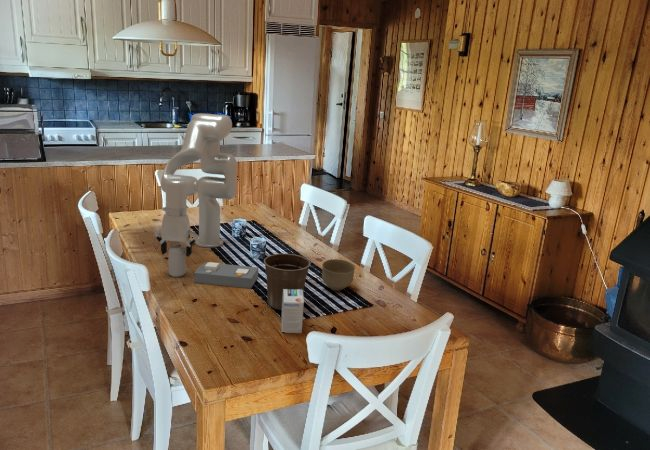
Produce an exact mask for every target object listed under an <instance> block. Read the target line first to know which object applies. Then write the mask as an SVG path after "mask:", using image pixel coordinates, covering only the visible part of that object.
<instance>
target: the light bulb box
mask: <svg viewBox="0 0 650 450" xmlns="http://www.w3.org/2000/svg"><path fill="white" fill-rule="evenodd" d="M304 299H305V298H304V292H303V290H301V289H283V298H282V310H281V317H280V318H281V320H280V321H281V328H280V329H281V331H280V332H281V333H282V332H285V333H284V334H286V333H287V334H302V332H303V331H302V330H303V321H304V320H303V316H304V304H305V300H304Z"/></svg>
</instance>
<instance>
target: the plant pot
mask: <svg viewBox="0 0 650 450" xmlns="http://www.w3.org/2000/svg"><path fill="white" fill-rule="evenodd" d="M263 263H264V266H265V267H264V268H265V274H266V291H267V294H266V295H267V297H266V298H267V304H268V305H269V307H271V308H272V309H274V310H279V311H282V298H283V289H301V290H303V293H304V291H305V286H306V285H305V284H306V280H307V277H308V272H309V267H311V261H310V259H308V258H307V257H304V256H302V255H298V254H294V253H293V254H292V253H275V254H271V255H268V256H266V257H265V258H264V259H263Z"/></svg>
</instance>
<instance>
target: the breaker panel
mask: <svg viewBox="0 0 650 450" xmlns="http://www.w3.org/2000/svg"><path fill="white" fill-rule="evenodd" d="M207 263H208V262H205V261H204V262H203V263H202V264H201V265H200V266H199V267H198V268H196V270H195V272H193V275H194V278H193V283H195V284H205V285H214V286H224V287H231V288H232V287H233V288H241V289H252V288H253V286H254V284H255V283H256V282H257V279H258V278H259V267H258V266H257V267H256V266H247V265H245V266H244V265H237V264H228V263H227V264H226V263H219V269H218V270H217V271H211V270H205V265H206V264H207ZM238 268H239V269H249V272H248V274H247V275H245V274H242V273H237V274H236V273H235V272H236V271H237V269H238Z"/></svg>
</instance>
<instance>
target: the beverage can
mask: <svg viewBox="0 0 650 450" xmlns="http://www.w3.org/2000/svg"><path fill="white" fill-rule="evenodd" d="M168 247H169V248H168V249H167V251H168V253H167V254H168V256H167V257H168V275H169V276H171V277H173V278H180V277H183V276H184V275H186V270H187V269H186V268H187V267H186V263H187V262H186V257H187V256H186V247H185V245H184V244H183V243H172V244H170V245H169V246H168Z"/></svg>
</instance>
